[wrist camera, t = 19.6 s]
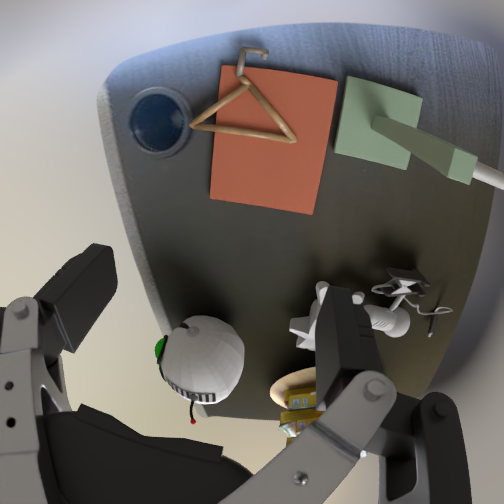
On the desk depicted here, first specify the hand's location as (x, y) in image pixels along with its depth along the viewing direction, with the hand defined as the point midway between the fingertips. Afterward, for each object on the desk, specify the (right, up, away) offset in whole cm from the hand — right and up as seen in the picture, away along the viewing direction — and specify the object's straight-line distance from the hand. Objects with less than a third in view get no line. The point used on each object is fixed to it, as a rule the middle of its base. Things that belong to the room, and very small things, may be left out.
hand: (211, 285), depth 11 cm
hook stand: (+22, +17, +22) cm, 35 cm away
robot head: (-6, -12, +44) cm, 46 cm away
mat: (+4, +15, +26) cm, 30 cm away
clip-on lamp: (+28, -7, +35) cm, 45 cm away
